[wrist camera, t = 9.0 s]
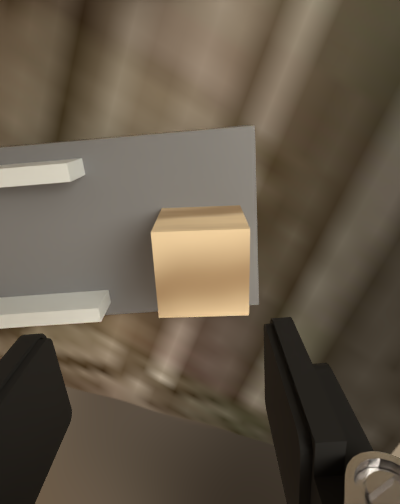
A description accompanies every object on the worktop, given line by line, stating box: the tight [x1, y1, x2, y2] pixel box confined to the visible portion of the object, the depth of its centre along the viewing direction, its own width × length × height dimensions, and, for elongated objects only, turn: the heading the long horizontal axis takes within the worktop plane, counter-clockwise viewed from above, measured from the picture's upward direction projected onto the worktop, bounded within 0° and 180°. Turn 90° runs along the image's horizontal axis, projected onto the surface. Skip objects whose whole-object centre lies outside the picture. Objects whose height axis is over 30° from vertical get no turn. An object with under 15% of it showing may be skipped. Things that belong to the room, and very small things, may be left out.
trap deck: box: [0, 125, 259, 328], centre depth 22 cm, size 12×25×4 cm, turn 95°
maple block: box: [151, 205, 250, 318], centre depth 20 cm, size 5×5×5 cm
